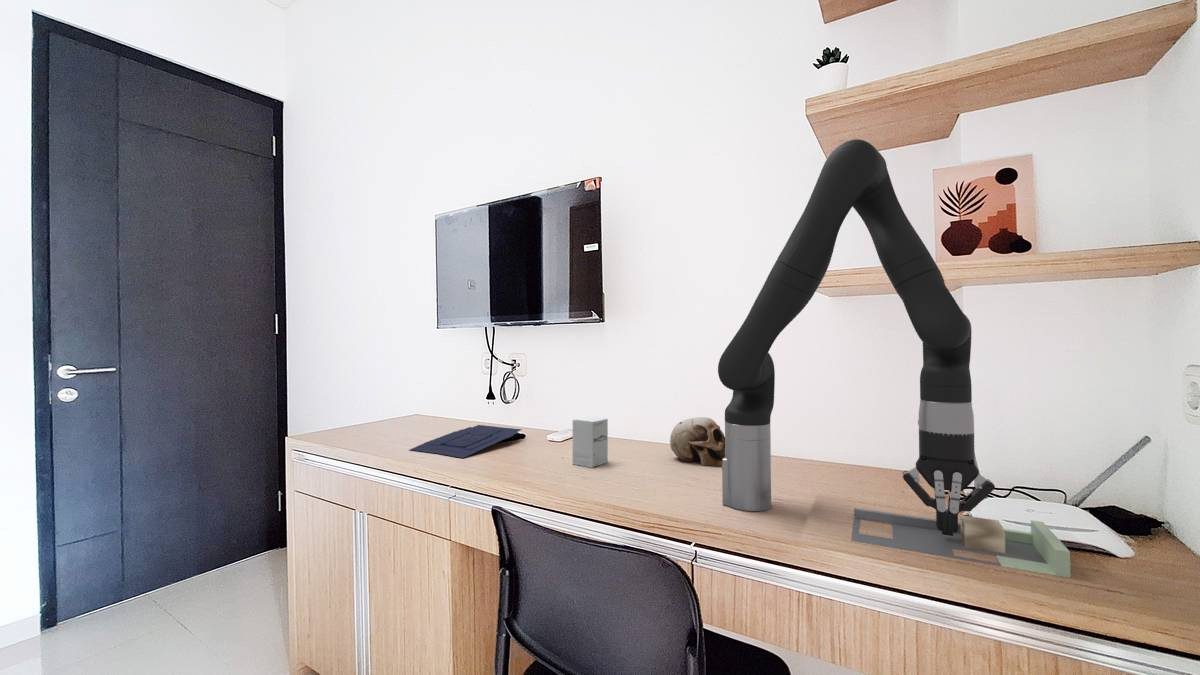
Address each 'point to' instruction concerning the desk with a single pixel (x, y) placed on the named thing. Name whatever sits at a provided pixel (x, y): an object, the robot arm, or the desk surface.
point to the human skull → (698, 441)
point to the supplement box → (590, 441)
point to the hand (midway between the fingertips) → (947, 533)
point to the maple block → (982, 534)
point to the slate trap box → (923, 536)
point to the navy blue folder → (467, 440)
